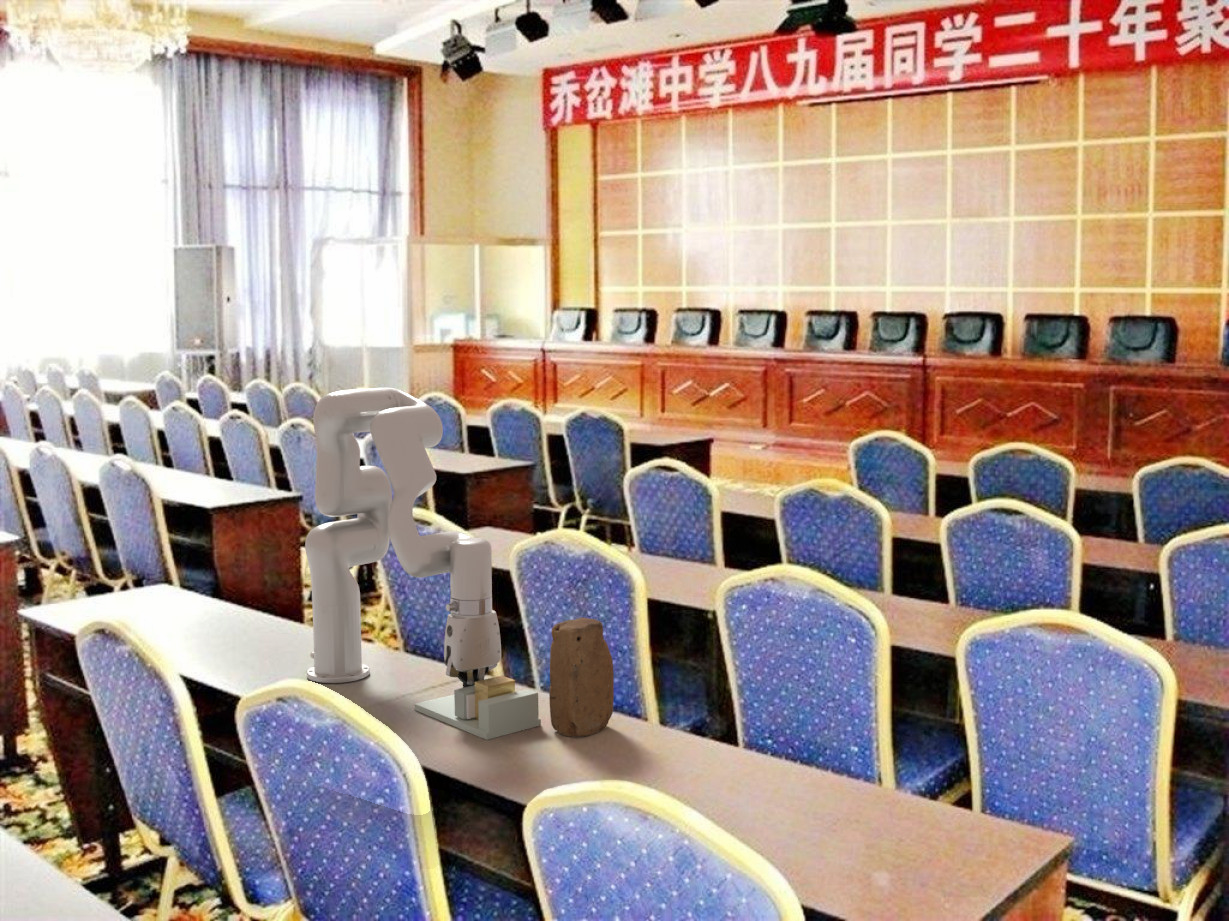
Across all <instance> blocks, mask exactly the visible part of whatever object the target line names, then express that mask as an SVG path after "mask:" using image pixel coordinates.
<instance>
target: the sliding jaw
mask: <svg viewBox="0 0 1229 921" xmlns="http://www.w3.org/2000/svg"><path fill="white" fill-rule="evenodd" d="M453 693H454V694H453V695H454V701H455V716H457V717H460V718H462V719H471V718H475V685H473V686H469V687H464V688H463V687H462V688H456V689H454V692H453Z"/></svg>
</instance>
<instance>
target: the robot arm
mask: <svg viewBox="0 0 1229 921" xmlns="http://www.w3.org/2000/svg"><path fill="white" fill-rule="evenodd" d="M312 422H313V430H314V436H315V442H316V463H315V488H314V495H315V496H314V498H315V499H314V500H315V506H316V509H317V511H318V512H319V513H320V514H322V515H323V516H326V517H332V518H337V517H345V516H351V515H357V517H355V518H350V519H342V520H336V521H329V522H325V523H322V524H320V525H317V526H314V527H313V528H312V529H311V530H310V531H309V532H308V534H307V536H306V538H305V544H304V546H305V547H304V548H305V550H304V551H305V556H306V558H307V565H308V567H309V568H308V569H309V574H310V583H311V602H312V604H311V605H312V632H313V633H312V634H313V651H312V652H311V653H310V655H309V656H310V658H311V659H312V660H313V666H312V667H309V668H308V669H307V670H306V678H307V679H308V680H310V681H312V682H315V681H316V682H315V683H320V684H321V683H323V684H342V683H343V684H344V683H350V682H356V681H359V680H362V679H364V678H367V677H368V676H369V675H370V673H371V668H370V667H369V666H368V664H366V663H363V662H362V661H363V660H362V659H363V657H362V621H361V620H362V615H361V614H362V613H361V592H360V586H359V584H358V582H357V580H356V578H355V577H354V575H353V574H352V572H351V569H350V568H352V567H356V566H362V565H365V564H366V565H367V564H371V563H372V564H373V563H375V562H378V561H380V560H382V559H383V558H384V557H385V556H386V554H387V553H388V550H389V546H390V543H391V546H392V547H393V550H394V553H395V555H396V558H397V560H398V561H399V564H400V565H401V567H402V569H403V571H404V572H406V574H408V575H409V576H410V577H414V578H418V579H421V578H427V577H431V576H433V577H434V576H438V575H442V574H447V573H448V574H449V573H450V574H449V575H450V580H449V581H450V582H449V583H450V584H449V585H450V588H449V589H450V592H449V593H450V598H449V599H450V600H449V602H448V603H446V605H445V610H446V612H450V614H447V618H446V619H447V620H446V624H445V632H444V641H443V642H444V644H443V645H444V646H443V658H444V659H443V660H444V665H445V666H446V670H445V675H446V676H447V677H449V678H457V679H458V680H459V681H460V683H462V688H464V687H469V686H473V685H475V682H476V681H480V680H485V678H486V675H487V674H488V672H489V671H492V670H493V669H495V668H496V667H497V666H498V664H499V663H500V662H501V659H502V644H501V642H502V640H501V633H500V625H499V620H498V615H497V612H496V611H495V610H493V594H492V593H493V592H492V590H493V589H492V588H493V587H492V586H493V585H492V584H493V582H492V581H493V580H492V578H493V577H492V576H493V573H492V572H493V568H492V565H493V564H492V562H493V560H492V556H493V555H492V552H493V551H492V545H491V543H490V542H489V540H487V539H484V538H481V537H472V536H470V535H468V534H466V533H464V532H461V531H457V530H451V531H445V532H437V533H431V534H426V535H420V534H419V532H418V529H417V527H416V524H415V521H414V515H413V508H414V505H415V502H416V499H417V498H419V497H420V496H422V495H423V494H424V493H426V492H427V491H429V490H430V489H431V488H432V487H433V486H434V485H435V484H436V481H437V474H436V471H435V469H434V467H433V466H434V465H433V464H432V461H431V460H430V457H429V454H428V452H427V449H430V448H433V447H435V446H438V444H439V443H440V442H441V441H442V438H443V436H444V435H443V434H444V433H443V432H444V428H443V422H442V420H441V417H440V416H439V414H438V412H437V411H436V410H435V408H433V407H432V406H430V405H429V404H427V403H426V402H424V401H422V400H420V399H419V398H416V397H414V396H412V395H411V394H408V393H407V392H405V391H402V390H400V389H398V388H395V387H375V388H374V387H373V388H354V389H353V388H352V389H344V390H337V391H333V392H330V393H326V394H325V395H323V396H321V398H320V399H319V400H318V402H317V403H316V406H315V408H314V411H313V420H312ZM369 432H370V434H371V435H370V436H371V438H372V440H373V443H374V445H375V446H374V447H376V450H377V453H378V455H379V458H380V461H381V462H382V465H383V468H384V470H383V469H382V468H380V467H378V466H375V465H361V449H360V445H359V442H358V440H357V438H356V437H355V433H369ZM392 492H393V493H392Z"/></svg>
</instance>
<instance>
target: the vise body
mask: <svg viewBox="0 0 1229 921" xmlns="http://www.w3.org/2000/svg"><path fill="white" fill-rule="evenodd" d="M478 709H479V721H478V720H475V718H471V719H462V718H460V717H457V716H455V701H454V694H450V695H446V696H442V697H437V698H433V699H429V700H424V701H421V702H417V703H416V702H415V703H414V710H415V711H416V712H418V713H421V714H423V715H426V716H429V717H431V718H433V719H435V720H438V721H441V722H443V723H444V724H448V725H450V726H453V727H455V728H457V729H458V730H461V731H464V732H467V733H469V734H472V735H474V736H476V737H479V738H481V739H484V740H486V741H488V740H491V739H496V738H498V737H502V736H507V735H510V734H514V733H517V732H522V731H526V730H529V729H533V728H537V727H540V725H541V724H542V722H541V721H542V719H541V718H539V692H538V691H536V690H535V691H534V690H531V689H529V688H527V689H522V690H519V691H515V692H514V693H510V694H505V695H501V696H497V697H493V698H489V699H485V700H480V701H478ZM536 726H537V727H536ZM541 726H542V725H541ZM525 729H526V730H525ZM521 730H522V731H521Z"/></svg>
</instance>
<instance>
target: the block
mask: <svg viewBox="0 0 1229 921" xmlns="http://www.w3.org/2000/svg"><path fill="white" fill-rule="evenodd" d="M551 637H552V642H551V645H550V651H549V652H550V653H549V656H550V658H549V682H550V683H549V684H550V685H549V693H548V695H549V713H550V714H549V715H550V723H551V727H552V728H553V729H554V730H555V731H556V732H557V733H559V734H561V735H563V736H566V737H577V738H578V737H589V736H592V735H595V734H597V733H598V732H600V731H603V730H605V729H606V728H607V726H608V724H609V721H610V720H611V718H612V715H613V713H614V699H615V698H614V696H615V695H614V694H615V693H614V690H615V689H614V688H615V687H614V686H615V685H614V684H615V682H614V679H615V678H614V662H613V657H612V653H611V652H610V648H609V646H608V643H607V641H606V640H605V639H604V626H603V623H602V622H601V621H600V620H599V619H595V618H588V617H582V616H581V617H578V618H575V619H567V620H565V621H561V622H558V623H556V624H554V625H553V626H552V628H551Z"/></svg>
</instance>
